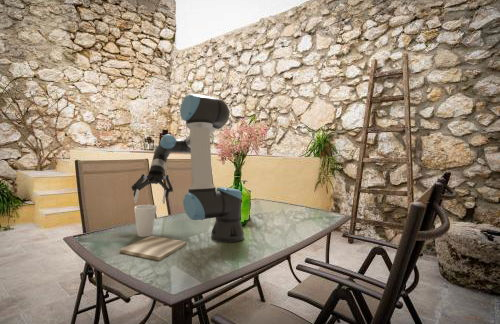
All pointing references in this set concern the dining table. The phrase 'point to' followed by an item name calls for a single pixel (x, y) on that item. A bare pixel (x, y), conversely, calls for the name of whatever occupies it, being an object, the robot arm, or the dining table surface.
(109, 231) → the dining table surface
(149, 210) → the foam cup
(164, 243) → the ash board
